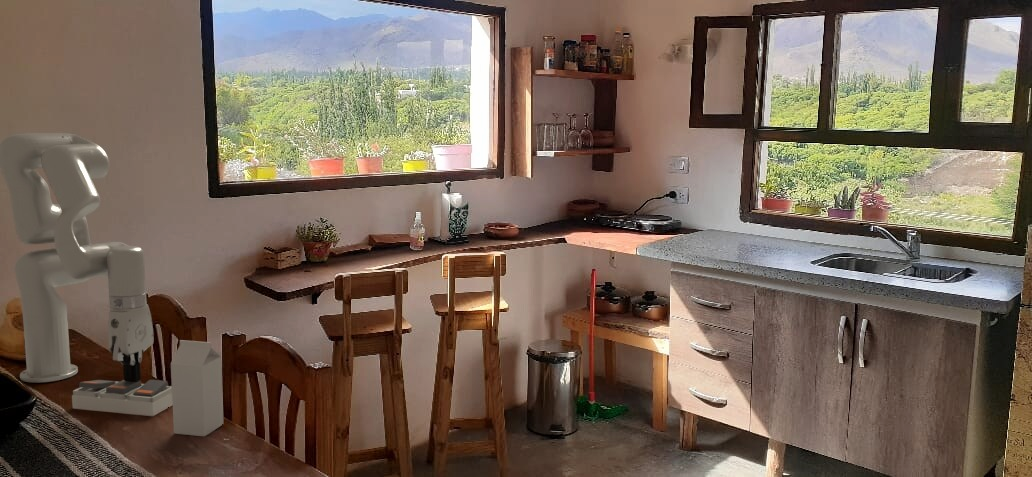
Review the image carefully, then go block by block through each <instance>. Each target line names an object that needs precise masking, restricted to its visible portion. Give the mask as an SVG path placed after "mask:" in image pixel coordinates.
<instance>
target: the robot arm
mask: <svg viewBox="0 0 1032 477" xmlns="http://www.w3.org/2000/svg"><path fill="white" fill-rule="evenodd" d="M110 166H111V164H110V158H109V157H108V154H107V153H106V150H104V149H103V148H102V147H101V146H100V145H99V144H97V143H95V142H93V141H91V140H89V139H87V138H84V137H83V136H82V137H81V136H80V135H78V134H74V133H68V132H25V133H16V134H15V133H14V134H11V135H7V136H5V137H4V138H3V139H2V140H1V141H0V172H1V174H2V176H3V179H4V181H5V184H6V185H7V188H8V194H9V197H10V205H11V211H12V217H13V223H14V230H15V234H16V236H17V239H18V240H19V241H20V242H21V243H22V244H24V245H29V246H32V245H33V246H37V245H45V244H46V245H47V244H54V247H55V248H54V247H53V248H47V249H46V248H44V249H39V250H38V249H37V250H33V251H29V252H26V253H24V254H22V255H20V256H19V257H18V258H17V259H16V260H15V263H14V269H13V270H14V274H15V278H16V282H17V287H18V289H19V290H18V291H19V293H20V294H19V295H20V301H21V312H22V321H23V334H24V335H23V336H24V337H23V338H24V348H25V363H26V369H25V370H22V371H21V372H20V373H19V379H20V380H21V381H22V382H26V383H32V384H33V383H39V384H40V383H50V382H57V381H60V380H65V379H69V378H71V377H73V376H75V375H77V373H78V372H79V369H78V368H79V367H78V366H77V365H75V364H72V363H71V355H70V353H71V352H70V351H71V350H70V339H69V338H70V337H69V321H68V320H69V319H68V307H67V303H66V301H65V299H64V298H63V297H62V296H61V295H60V293H59V292H58V291H57V290H56V288H59V287H64V286H68V285H69V286H70V285H74V284H75V285H76V284H80V283H85V282H87V281H89V280H90V279H95V278H100V277H107V284H108V285H107V286H108V297H109V299H108V300H109V301H108V302H109V313H108V323H107V324H108V325H107V326H108V327H107V341H108V342H107V344H108V350H109V352H110V354H112V360H113V361H115V362H120V364H121V365H122V366H123V367H122V368H123V371H122V372H123V380H124V381H131V382H136V381H141V379H142V377H141V375H142V374H141V373H142V372H141V362H142V359H143V354H144V352H145V351H146V350H148V348H150V347H151V346H152V345H153V344H154V340H155V339H154V328H153V326H154V325H153V320H152V319H153V318H152V313H151V311H150V307H149V304H147V303H148V302H147V289H146V286H147V285H146V267H145V254H144V253H145V252H144V249H142V247H139V246H137V245H128V244H126V243H124V242H121V241H108V242H101V243H99V242H98V243H92V242H91V236H90V230H89V224H88V219H87V217H86V216H88V215H90V214H92V213H94V211H96V210H97V209H98V208H99V206H100V205H101V202H102V199H101V196H100V194H99V192H98V191H97V188H96V186H95V184H94V181H93V180H98V179H99V180H100V179H103V178H104V177H106V176H107V175H108V173H109V171H110ZM35 169H43V172H44V174H45V176H46V178H47V181H48V182H47V181H46V180H45V179H44V178H43V176H41V175H40V173H39V172H38V171H36V170H35ZM48 183H49V184H48ZM50 188H51V190H52V192H53V194H54V197H55V199H56V201H57V203H56V204H55V203H53V201H52V198H51V191H50Z"/></svg>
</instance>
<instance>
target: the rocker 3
mask: <svg viewBox="0 0 1032 477" xmlns="http://www.w3.org/2000/svg"><path fill="white" fill-rule="evenodd" d="M143 384H144V385H143V386H142V387H140V388H139V389H138V390H137V391H136V392H134V393H133V394H134V395H135V396H146V397H153V396H155V395H157V394H158V393H159V392H161V391H162V390H163V389H164V388H165V387H166V386H169V382H168V380H159V379H149V380H147V381H146V382H145V383H143Z"/></svg>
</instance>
